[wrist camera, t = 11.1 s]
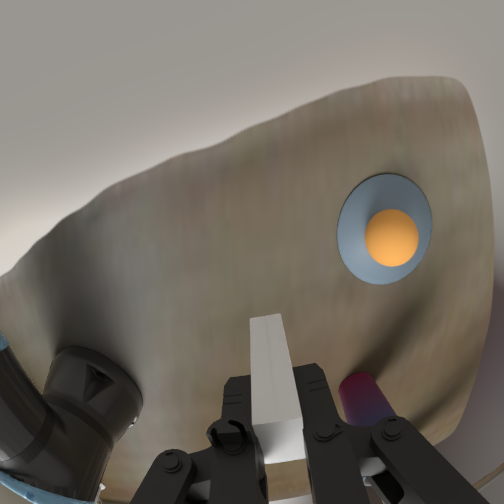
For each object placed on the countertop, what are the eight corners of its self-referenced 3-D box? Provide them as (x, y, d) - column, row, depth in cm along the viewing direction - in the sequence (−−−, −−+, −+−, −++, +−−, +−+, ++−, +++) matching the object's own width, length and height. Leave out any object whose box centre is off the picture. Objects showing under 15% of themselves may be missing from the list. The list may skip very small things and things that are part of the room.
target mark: (341, 293, 29) (341, 294, 29) (330, 180, 25) (330, 180, 25) (430, 271, 28) (430, 272, 28) (427, 170, 25) (428, 170, 25)
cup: (357, 405, 34) (388, 484, 20) (322, 396, 33) (348, 486, 19) (387, 373, 33) (431, 452, 18) (353, 361, 32) (396, 452, 17)
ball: (371, 253, 29) (360, 274, 25) (368, 204, 27) (356, 216, 23) (419, 255, 25) (416, 277, 21) (418, 204, 24) (417, 216, 20)
